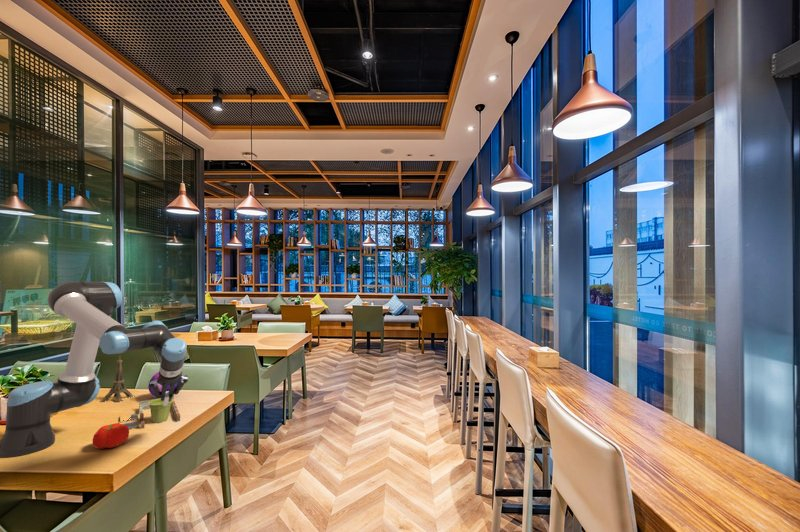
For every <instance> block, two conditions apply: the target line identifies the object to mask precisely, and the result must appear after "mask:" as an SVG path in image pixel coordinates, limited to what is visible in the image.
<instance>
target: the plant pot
mask: <svg viewBox="0 0 800 532" xmlns="http://www.w3.org/2000/svg"><path fill="white" fill-rule="evenodd" d="M155 399H156V400H153V401H150V402H149V403H148V404H149V405H150V418H151V422H152V423H154V424H157V423H158V422H159V423H160V422H162V423H163V421H164V422H166V421H168V420H167V419H169V414H170V410H171V404H172V401H173V399H169V401H168V405H167V406H163V401H161V399H159V398H155Z"/></svg>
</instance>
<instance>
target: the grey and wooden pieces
mask: <svg viewBox="0 0 800 532" xmlns="http://www.w3.org/2000/svg"><path fill="white" fill-rule="evenodd" d="M174 397H175V396H174V395H173V397H172V399H173V401H172V404H171V406H170V408H171V409H172V412H173V415H174V417H176V418H175V421H176V422H180V421H181V413H180V412H179V409H178V406H177V405H176V401H175V400H174V399H175V398H174ZM156 399H157V398H153V399H146V400H140V401H138V412H139V413H140V414H139V413H133V414H130V415H131V417H130V418H131V419H130V418H129V419H130V420H131V421H132V422H129V421H128V420H129V419H128V420H127V421H126V422H127V423H121V424H122V425H125V426H127V427H128V428H129V430H132V428H134V429H138V428H137V427H139V428H140V429H141V428H142V429H145V420H144V417H145V415H144V412H143V409H144V410H149V408H150V405H149V404H148V403H149V402H150V401H153V400H156ZM158 399H161V398H158ZM134 419H137V420H138V421H135V420H134ZM123 421H124V420H123ZM139 422H140V423H139Z"/></svg>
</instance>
